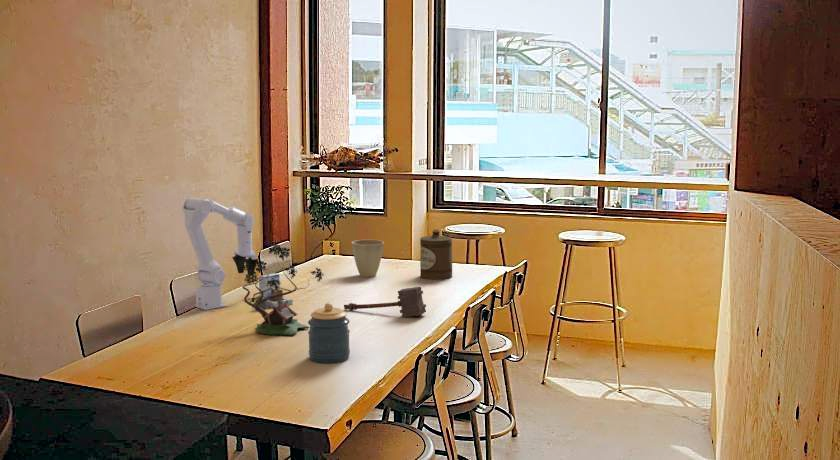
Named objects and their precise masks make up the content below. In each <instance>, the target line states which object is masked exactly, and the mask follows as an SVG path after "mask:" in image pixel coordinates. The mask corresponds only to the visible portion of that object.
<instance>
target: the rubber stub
mask: <svg viewBox="0 0 840 460" xmlns="http://www.w3.org/2000/svg"><path fill="white" fill-rule="evenodd" d="M264 298H265V297H263V298H262V299H264ZM258 306H259V307H261V308H262V309H264V310H265V311H266V310H268V306H267V301H265V302H264V304H263V303H262V304H259V305H258Z"/></svg>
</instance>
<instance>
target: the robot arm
mask: <svg viewBox="0 0 840 460" xmlns="http://www.w3.org/2000/svg"><path fill="white" fill-rule="evenodd" d="M181 209H182V211H183V214H184V227H185V229H186V231H187V234H188V237H189V239H190V242H191V245H192V247H193V250H194V252H195V256H196V259H197V261H198V262H199V264H198V265H197V266H196V270H197V278H198V281H200V284H201V285H200V286H198V287H197V286H196V289H195V307H196V308H198V309H201V310H203V311H204V310H205V311H208V310H212V309H218V308H224V307H227V304H224V303H222V302H223V301H222V285H223V283H224V281H225V278H226V273H225V271H224V269H222V268H221V265H220V264H219V263H218V262H217V261H216V260H215V259H214V257H213V255H212V254H213V253H212V251H211V249H210V246H209V244H208V242H207V241H208V240H207V237H206V236H205V233H204V230H203V228H202V224H203V223H204V222H205V220H206V219H207V217H208V216H209V215H210V214H211V213H216V214H218V215H222V217H223V219H224V220H225V221H227V222H230V223H233V224H234V225H235V226H236V229H237V249H235V250H233V256H232V260H233V261H234V263H235V266H236V265H238V262H239V261H238V260H239V259H240V258H244V257H245V258H246V260H247V262H246V264H247V266H246V267H248V271H247V270H246V272H247V274H248V273H250V272H249V270H251V271H252V273H253V272H255V271H256V268H255V263H257V261H258V262H259V258H258V254H257V253H255V251H254V250H253V235H252V233H253V232H252V231H253V230H254V229H253V228H254V225H255V220H256V219H255V218H254V215H252V214H251V213H249V212H244V210H243V209H238V208H236V206H235V205H230V206H229V205H228V206H224V205H222V204H220V203H218V202H216V201H214V200H212V199H208V198H195V197H187V198H186V199H185V201H184V202H183V205H182V207H181ZM240 260H241V259H240ZM244 263H245V262H244ZM246 264H245V265H246ZM250 264H251V265H250ZM242 265H243V264H242ZM240 267H241V266H240ZM241 268H244V267H241ZM236 270H237V273H238V274H244V272H245V269H244V270H243V269H239V267H237V266H236ZM252 273H250V274H252ZM248 276H249V275H248Z"/></svg>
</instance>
